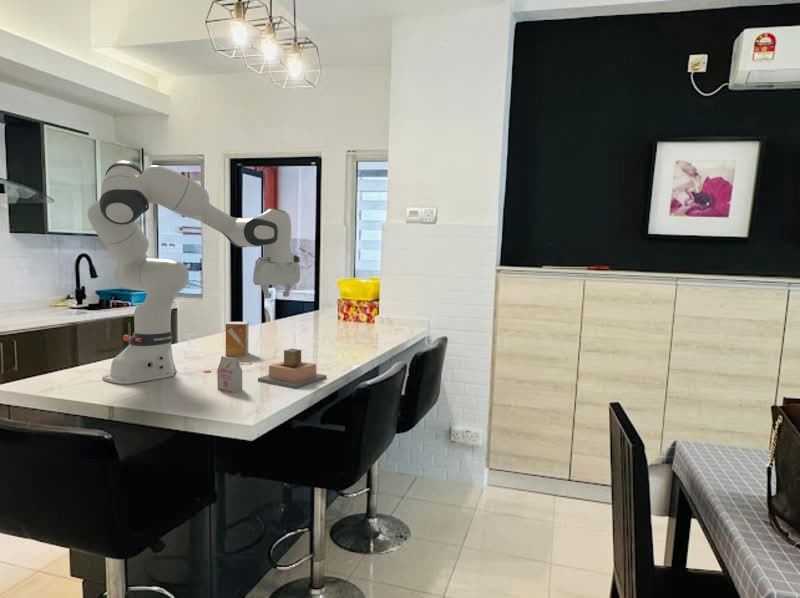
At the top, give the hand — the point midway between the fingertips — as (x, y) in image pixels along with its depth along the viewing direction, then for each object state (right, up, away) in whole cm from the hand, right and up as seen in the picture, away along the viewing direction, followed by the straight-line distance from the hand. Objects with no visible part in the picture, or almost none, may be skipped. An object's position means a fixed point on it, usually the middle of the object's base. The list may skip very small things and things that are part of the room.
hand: (277, 297), depth 180 cm
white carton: (-10, -29, -19) cm, 36 cm away
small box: (-23, -23, +31) cm, 45 cm away
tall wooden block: (+7, -27, -6) cm, 28 cm away
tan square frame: (+7, -28, -5) cm, 29 cm away
